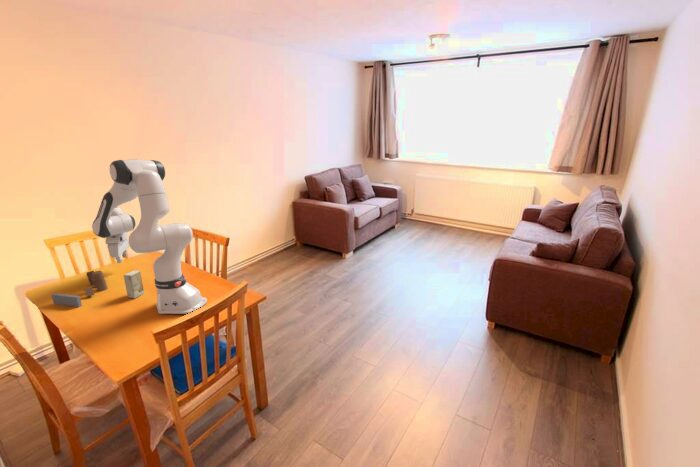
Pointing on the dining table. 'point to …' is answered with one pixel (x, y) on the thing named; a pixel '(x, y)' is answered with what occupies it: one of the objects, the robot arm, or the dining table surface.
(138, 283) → the skincare box
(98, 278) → the wooden block set
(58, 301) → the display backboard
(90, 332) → the dining table surface
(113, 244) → the robot arm
